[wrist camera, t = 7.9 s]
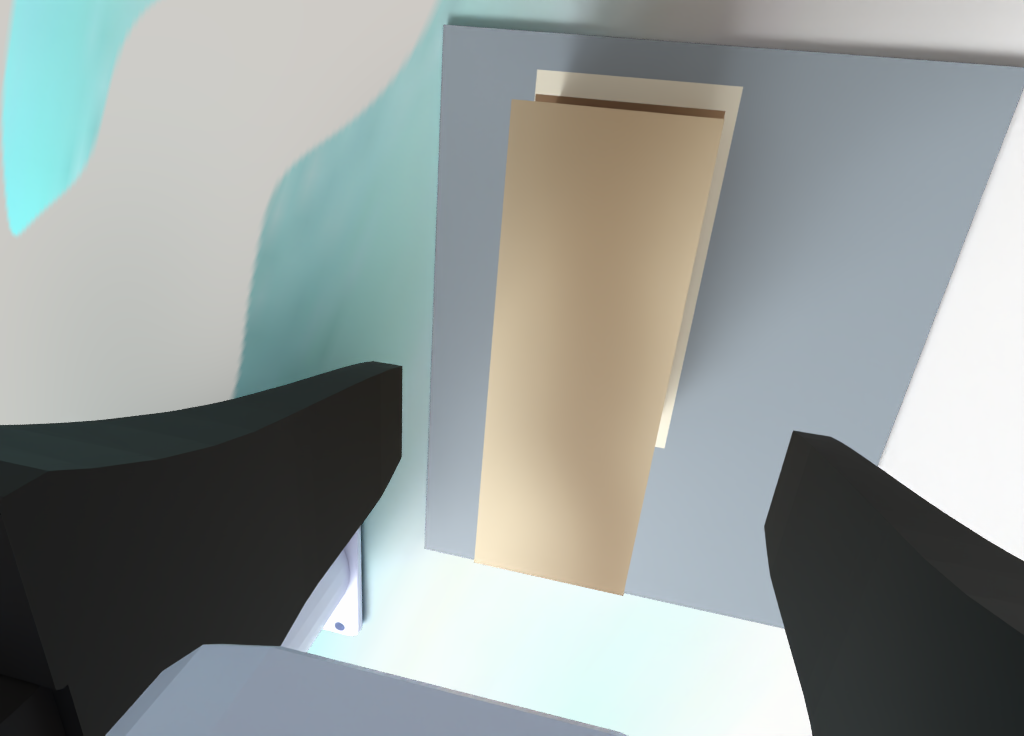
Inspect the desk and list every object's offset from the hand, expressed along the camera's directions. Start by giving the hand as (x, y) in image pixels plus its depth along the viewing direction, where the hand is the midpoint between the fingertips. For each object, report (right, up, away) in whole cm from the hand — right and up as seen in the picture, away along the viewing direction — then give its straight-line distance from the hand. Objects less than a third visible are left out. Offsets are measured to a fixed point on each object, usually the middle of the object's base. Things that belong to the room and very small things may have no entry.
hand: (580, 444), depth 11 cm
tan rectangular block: (+1, +3, +5) cm, 6 cm away
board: (+4, +2, +10) cm, 11 cm away
